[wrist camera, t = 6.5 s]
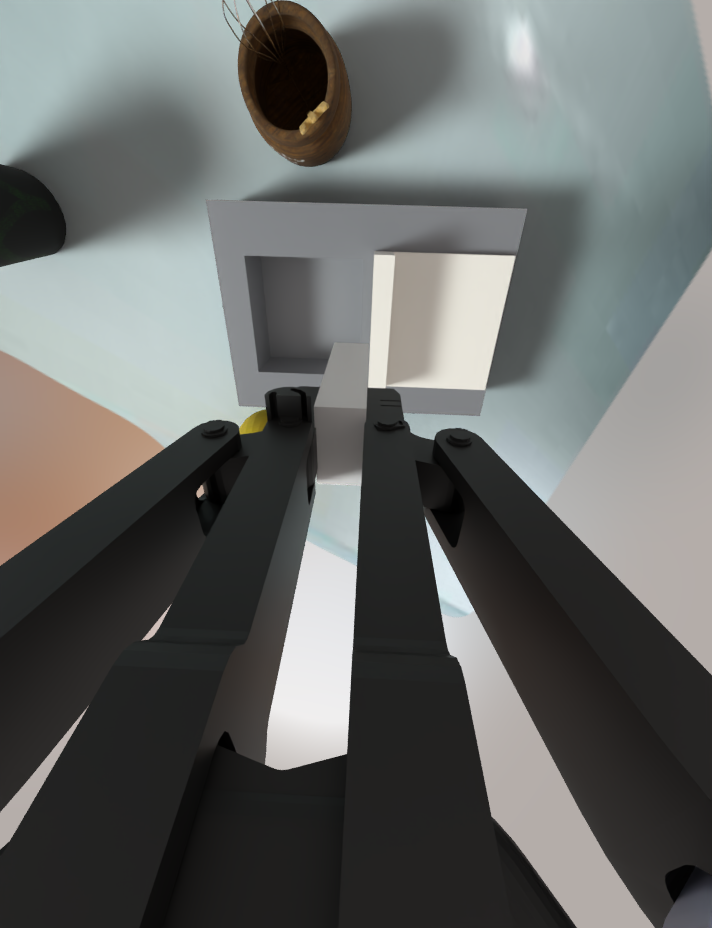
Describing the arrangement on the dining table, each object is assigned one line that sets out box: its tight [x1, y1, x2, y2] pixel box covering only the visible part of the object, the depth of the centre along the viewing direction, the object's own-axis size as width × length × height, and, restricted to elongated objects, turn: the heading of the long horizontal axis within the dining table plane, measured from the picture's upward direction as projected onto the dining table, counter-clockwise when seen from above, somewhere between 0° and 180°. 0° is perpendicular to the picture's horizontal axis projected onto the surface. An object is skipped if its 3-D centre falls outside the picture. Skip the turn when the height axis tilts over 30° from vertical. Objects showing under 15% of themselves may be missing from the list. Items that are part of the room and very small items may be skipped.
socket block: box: [206, 200, 527, 416], centre depth 29 cm, size 14×20×5 cm
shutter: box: [368, 251, 516, 390], centre depth 25 cm, size 9×9×4 cm
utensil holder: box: [222, 0, 352, 167], centre depth 19 cm, size 6×6×12 cm
